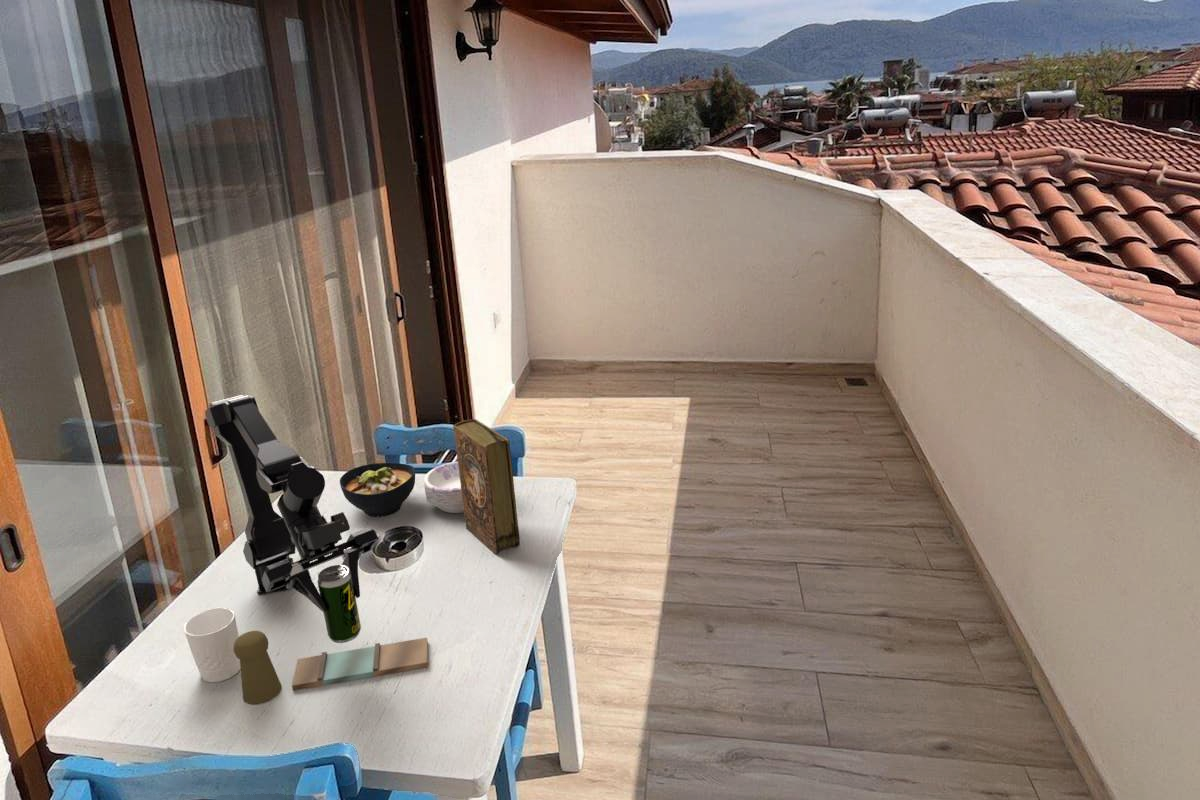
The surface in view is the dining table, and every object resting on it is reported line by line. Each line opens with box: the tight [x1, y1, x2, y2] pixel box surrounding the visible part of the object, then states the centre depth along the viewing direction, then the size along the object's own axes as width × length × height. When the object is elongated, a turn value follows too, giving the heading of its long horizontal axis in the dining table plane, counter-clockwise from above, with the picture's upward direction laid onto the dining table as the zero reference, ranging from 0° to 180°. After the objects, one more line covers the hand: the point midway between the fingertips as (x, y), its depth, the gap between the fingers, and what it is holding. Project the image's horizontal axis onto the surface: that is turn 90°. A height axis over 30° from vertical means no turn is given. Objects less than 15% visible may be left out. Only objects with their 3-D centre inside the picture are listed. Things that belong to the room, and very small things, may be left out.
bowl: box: [339, 462, 416, 518], centre depth 193 cm, size 17×17×10 cm
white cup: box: [183, 607, 241, 683], centre depth 140 cm, size 8×8×10 cm
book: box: [452, 418, 521, 555], centre depth 175 cm, size 16×6×25 cm, turn 34°
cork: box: [234, 630, 283, 706], centre depth 133 cm, size 6×6×11 cm
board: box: [291, 637, 429, 691], centre depth 140 cm, size 22×7×2 cm, turn 101°
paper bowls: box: [423, 461, 464, 514], centre depth 193 cm, size 15×15×8 cm
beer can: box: [317, 564, 362, 644], centre depth 136 cm, size 5×5×12 cm
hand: (342, 604), depth 135 cm, fingers closed on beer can, 5 cm apart
